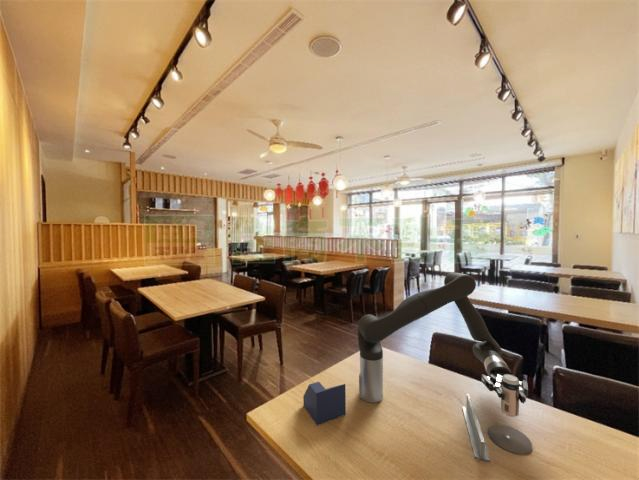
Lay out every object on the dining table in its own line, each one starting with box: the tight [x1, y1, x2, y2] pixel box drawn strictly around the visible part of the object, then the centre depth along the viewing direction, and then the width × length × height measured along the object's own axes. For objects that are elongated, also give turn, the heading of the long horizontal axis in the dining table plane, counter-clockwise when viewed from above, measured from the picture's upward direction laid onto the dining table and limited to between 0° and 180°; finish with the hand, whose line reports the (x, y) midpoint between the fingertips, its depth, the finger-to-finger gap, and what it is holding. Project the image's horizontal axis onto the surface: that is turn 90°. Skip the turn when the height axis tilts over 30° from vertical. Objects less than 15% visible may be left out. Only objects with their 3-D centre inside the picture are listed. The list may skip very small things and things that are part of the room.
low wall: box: [461, 393, 491, 464], centre depth 93 cm, size 4×24×6 cm, turn 161°
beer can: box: [500, 374, 521, 418], centre depth 89 cm, size 5×5×12 cm
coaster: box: [486, 423, 533, 455], centre depth 90 cm, size 12×12×1 cm
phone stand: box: [302, 381, 347, 426], centre depth 105 cm, size 12×12×12 cm
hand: (513, 398), depth 87 cm, fingers closed on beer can, 4 cm apart
